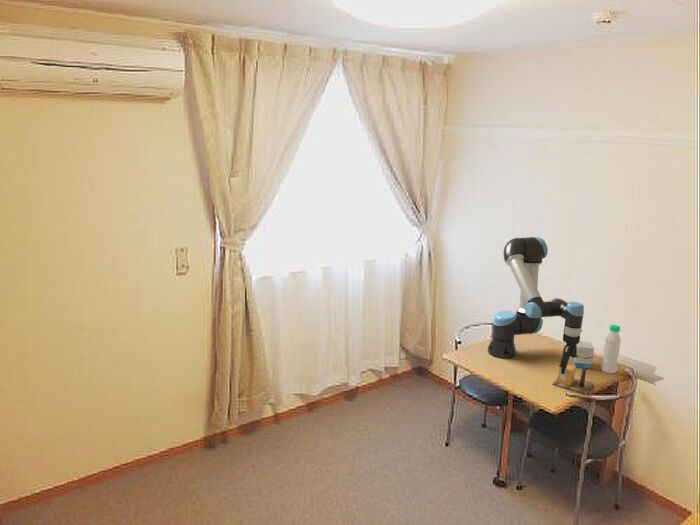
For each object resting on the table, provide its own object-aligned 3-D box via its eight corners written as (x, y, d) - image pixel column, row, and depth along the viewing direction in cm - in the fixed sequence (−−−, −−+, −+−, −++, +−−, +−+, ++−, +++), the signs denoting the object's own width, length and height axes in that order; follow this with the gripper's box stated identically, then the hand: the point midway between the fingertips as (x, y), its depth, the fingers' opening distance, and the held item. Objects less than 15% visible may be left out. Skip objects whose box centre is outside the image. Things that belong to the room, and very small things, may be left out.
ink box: (591, 369, 272) (594, 348, 269) (574, 367, 274) (577, 346, 271) (588, 361, 280) (590, 341, 277) (571, 360, 282) (574, 340, 279)
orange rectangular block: (557, 382, 256) (559, 367, 254) (561, 377, 260) (563, 363, 258) (570, 385, 252) (572, 370, 250) (573, 381, 257) (575, 366, 255)
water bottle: (609, 375, 265) (616, 329, 259) (597, 369, 271) (604, 324, 265) (618, 372, 268) (626, 327, 262) (606, 366, 274) (613, 322, 268)
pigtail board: (552, 384, 255) (554, 366, 252) (559, 376, 264) (562, 358, 261) (586, 395, 245) (589, 376, 243) (593, 385, 254) (596, 367, 252)
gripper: (572, 344, 238) (567, 386, 243) (587, 328, 257) (581, 367, 263) (555, 340, 242) (550, 381, 248) (571, 324, 262) (566, 363, 267)
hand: (566, 374), depth 255 cm, fingers open, 13 cm apart
